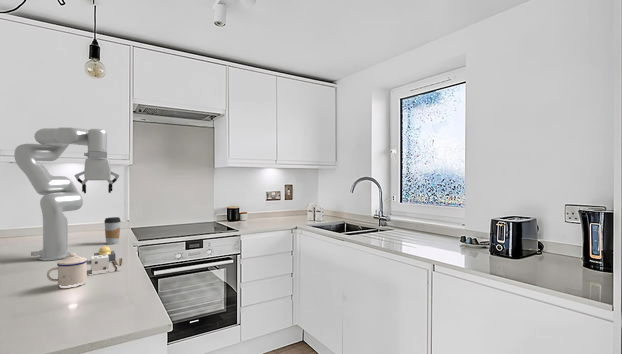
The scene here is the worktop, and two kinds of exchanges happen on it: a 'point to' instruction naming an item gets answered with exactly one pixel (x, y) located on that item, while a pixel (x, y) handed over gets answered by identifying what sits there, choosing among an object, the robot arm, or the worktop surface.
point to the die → (99, 262)
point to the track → (119, 261)
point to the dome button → (104, 250)
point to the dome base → (111, 256)
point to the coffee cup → (112, 230)
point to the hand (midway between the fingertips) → (97, 193)
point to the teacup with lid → (70, 270)
